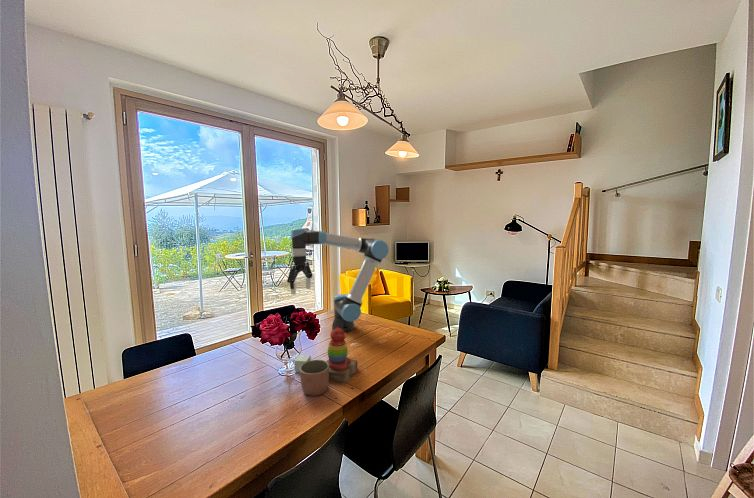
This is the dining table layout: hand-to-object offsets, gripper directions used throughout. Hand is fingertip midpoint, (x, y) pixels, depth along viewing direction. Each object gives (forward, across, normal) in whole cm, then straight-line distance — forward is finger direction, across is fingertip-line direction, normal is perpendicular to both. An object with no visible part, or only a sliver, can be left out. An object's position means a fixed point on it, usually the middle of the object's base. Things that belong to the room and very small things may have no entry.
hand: (301, 291), depth 177 cm
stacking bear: (+27, +22, +38) cm, 51 cm away
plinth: (+32, +22, +37) cm, 54 cm away
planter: (+32, +38, +35) cm, 61 cm away
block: (+32, +25, +19) cm, 45 cm away
